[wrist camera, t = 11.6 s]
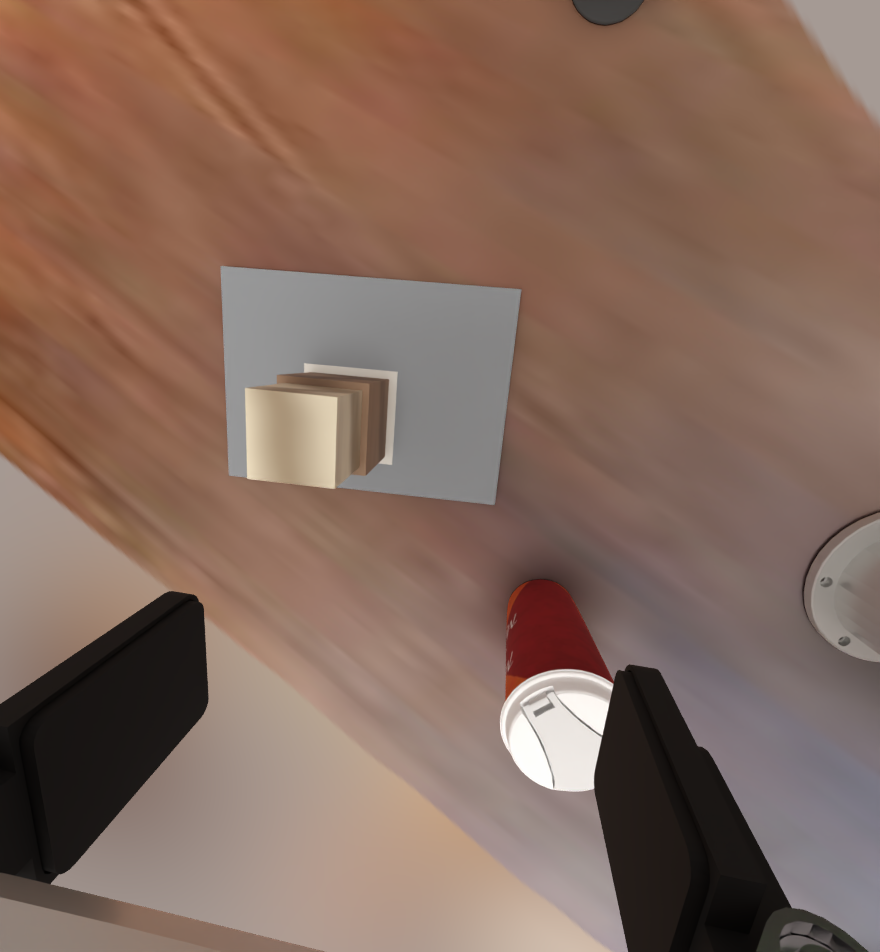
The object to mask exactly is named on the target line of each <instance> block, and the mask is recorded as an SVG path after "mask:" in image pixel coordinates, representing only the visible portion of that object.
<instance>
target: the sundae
mask: <svg viewBox="0 0 880 952" xmlns="http://www.w3.org/2000/svg"><path fill="white" fill-rule="evenodd" d="M643 1H644V0H573V3H574V5H575V7H576V8H577V10H578V12H579V13H580V14H581V15H582V16H583V17H585V18H586V19H587V20H589V21H590V22H593V23H596V24H602V25H609V24H614V23H617V22H621V21H623V20H624V19H626V18H627V17H629V16H630V15H631V14H633V13H634V12H635V11H636V10H637V9H638V8H639V6H640V5H641V4H642V2H643Z"/></svg>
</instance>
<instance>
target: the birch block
mask: <svg viewBox="0 0 880 952" xmlns="http://www.w3.org/2000/svg"><path fill="white" fill-rule="evenodd" d="M245 409H246V449H247V479H253V480H262V481H270V482H279V483H288V484H296V485H305V486H314V487H322V488H331V489H335V488H336V487H337V486H339V485H340V484H341V483H342V482H343V481H344V480H345V479H347V478H348V477H349V476H350V475H351V474H352V473H354V472H355V471H356V470H357V469H358V468H359V460H360V437H361V414H362V391H361V390H351V389H341V388H331V387H321V386H311V385H301V384H291V383H281V384H273V385H265V386H257V387H249V388H245Z"/></svg>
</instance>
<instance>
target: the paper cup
mask: <svg viewBox="0 0 880 952" xmlns="http://www.w3.org/2000/svg"><path fill="white" fill-rule="evenodd" d="M613 684H614V681H613V679H612V677H611V675H610V673H609V671H608V669H607V667H606V665H605V663H604V661H603V659H602V657H601V655H600V653H599V651H598V649H597V647H596V645H595V643H594V641H593V639H592V636H591V634H590V632H589V630H588V628H587V626H586V624H585V622H584V620H583V618H582V616H581V614H580V612H579V610H578V608H577V607H576V605H575V603H574V601H573V599H572V597H571V596H570V594H569V593H568V592H567V590H566V589H565V588H563V587H562V586H561V585H559V584H558V583H556V582H553V581H550V580H545V579H536V580H531V581H528V582H526V583H524V584H522V585H520V586H519V587H518V588H517V589H516V590H515V591H514V592H513V593H512V595H511V597H510V599H509V603H508V609H507V632H506V700H505V703H504V705H503V708H502V711H501V717H500V730H501V735H502V738H503V741H504V743H505V745H506V747H507V749H508V750H509V752H510V753H511V755H512V757H513V759H514V761H515V763H516V764H517V766H518V767H519V768H520V770H521V771H522V772H523V773H524V774H525V775H526V776H528V777H529V778H530V779H531V780H533V781H534V782H536V783H538V784H540V785H542V786H544V787H547V788H549V789H553V787H554V790H561V791H576V792H577V791H587V790H591V789H594V772H595V767H596V762H597V758H598V753H599V749H600V744H601V739H602V735H603V730H604V726H605V721H606V717H607V712H608V707H609V703H610V698H611V694H612V689H613Z"/></svg>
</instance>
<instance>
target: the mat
mask: <svg viewBox="0 0 880 952" xmlns="http://www.w3.org/2000/svg"><path fill="white" fill-rule="evenodd" d="M221 287H222V312H223V337H224V363H225V388H226V413H227V438H228V464H229V476H238V477H247V449H246V409H245V388H249V387H257V386H265V385H273V384H277V375H282V374H294V373H307V372H316V373H327V374H338V375H348V376H359V377H370V378H381V379H389V391H388V409H387V428H386V446H385V457H384V458H383V459H382V460H381V461H380V462H379V463H378V464H377V465H376V466H375V467H374V468H373V469H372V470H371V471H370V472H369V473H368V474H367V475H366V476H361V475H350V476H349V477H348V478H347V479H345V480H344V481H343V482H342V483H341V484H340V485H339V486H337V488H346V489H355V490H364V491H373V492H382V493H391V494H400V495H409V496H418V497H427V498H436V499H445V500H454V501H463V502H472V503H481V504H490V505H495V498H496V490H497V482H498V474H499V466H500V458H501V450H502V442H503V433H504V425H505V417H506V409H507V401H508V393H509V385H510V377H511V369H512V361H513V353H514V345H515V336H516V328H517V320H518V312H519V304H520V296H521V289H511V288H498V287H485V286H472V285H459V284H446V283H433V282H420V281H407V280H394V279H382V278H369V277H356V276H343V275H330V274H317V273H304V272H291V271H278V270H265V269H252V268H239V267H226V266H221Z"/></svg>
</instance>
